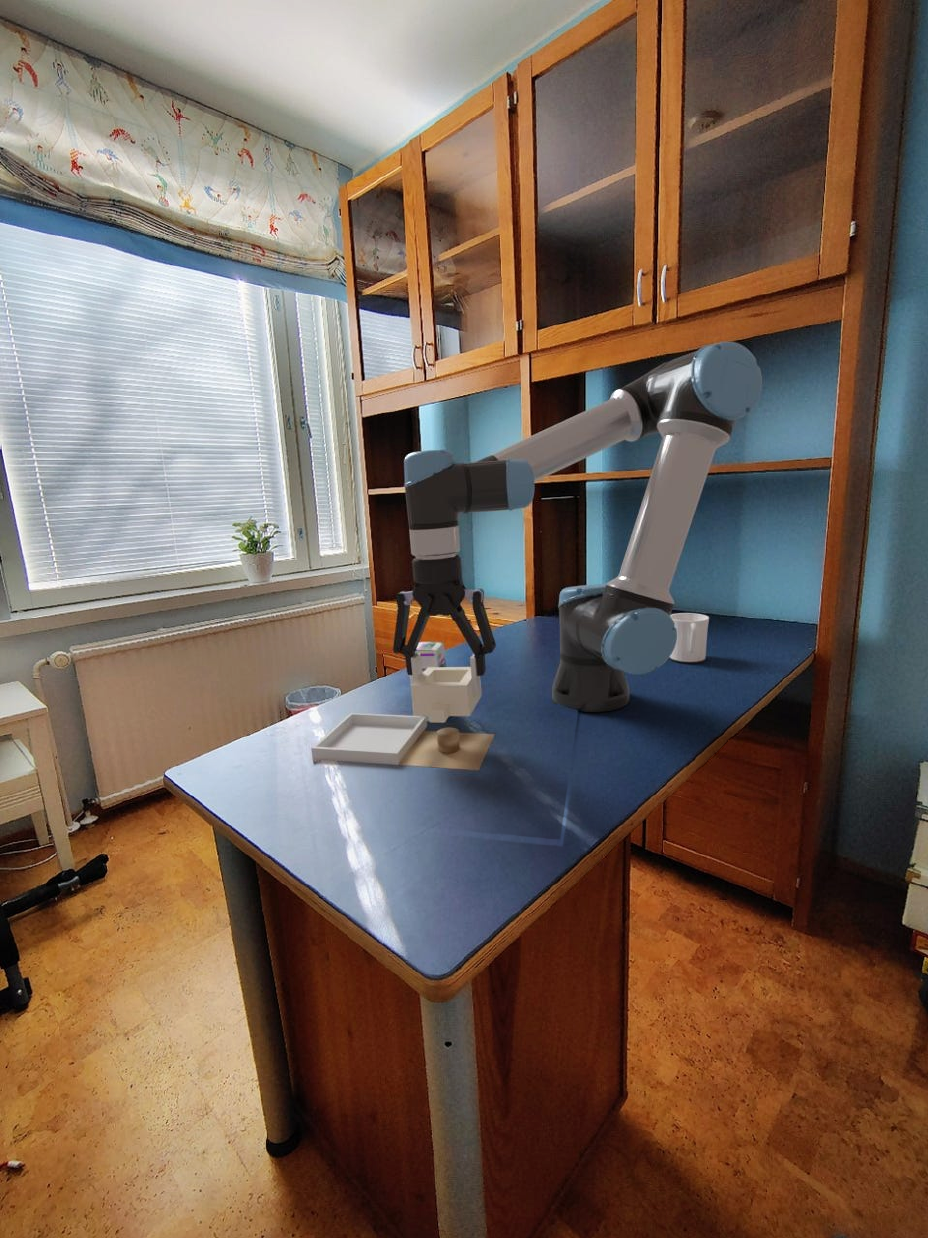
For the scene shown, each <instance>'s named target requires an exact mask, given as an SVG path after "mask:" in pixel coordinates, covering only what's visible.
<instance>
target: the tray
mask: <svg viewBox="0 0 928 1238" xmlns="http://www.w3.org/2000/svg"><path fill="white" fill-rule="evenodd" d="M427 727H428V721H427V718H426V716H413V715H403V714H402V715H400V714H382V713H380V714H379V713H356V712H350V713H349V714H347V716H345V717H344V718H343V719H342V720H341V721H340V722H339V723H337V724H336V725H335V726H334V727H333V728H332V729H331V730H329V732H327V733H326V734H325V735H324V736H323V737H322V738H321V739H320V740H318V742H316V743H315V744H314V745H313V746H312V747H311V757H312V762H313V763H319V762H320V761H321V760H322V761H334V762H335V761H337V762H351V763H366V764H379V765H381V764H382V765H394V766H396V765H397V766H400V765H399V763H400V762H401V760H402V759H403V758H404V756H405V755H406V754H407V752H408V751H409V750H410V748H411V747H412V746H413V744H414V743H415V742H416V740H417V739H418V738H419V736H420V735H421V734H422V732H423V731H426V729H427Z"/></svg>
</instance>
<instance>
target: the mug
mask: <svg viewBox="0 0 928 1238" xmlns="http://www.w3.org/2000/svg"><path fill="white" fill-rule="evenodd" d="M670 617H671V618H672V620H673V621H674V623H675V625H674V627H675V628H676V629H677V641H676V645H675V648H674V650H673V652H672V654H671V655H670V657H669V658H668V659H669V660H670V661H671V662H674V663H678V664H683V665H697V664H702V663H704V662H705V660H706V657H707V656H706V655H707V640H708V639H707V638H708V628H709V621H710V616H708V615H706V614H701V613H693V612H682V613H681V612H679V613H671V615H670Z"/></svg>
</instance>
